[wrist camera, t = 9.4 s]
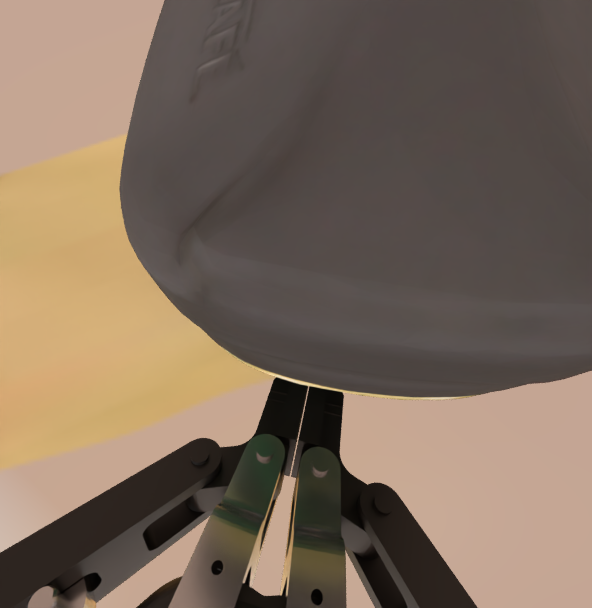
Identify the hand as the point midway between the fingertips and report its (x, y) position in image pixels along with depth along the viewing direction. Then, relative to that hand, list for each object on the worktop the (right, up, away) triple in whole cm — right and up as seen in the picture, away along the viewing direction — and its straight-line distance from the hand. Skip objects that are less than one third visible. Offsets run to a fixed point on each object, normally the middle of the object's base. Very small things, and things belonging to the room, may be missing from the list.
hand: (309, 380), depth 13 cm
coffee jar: (+2, +3, +8) cm, 8 cm away
